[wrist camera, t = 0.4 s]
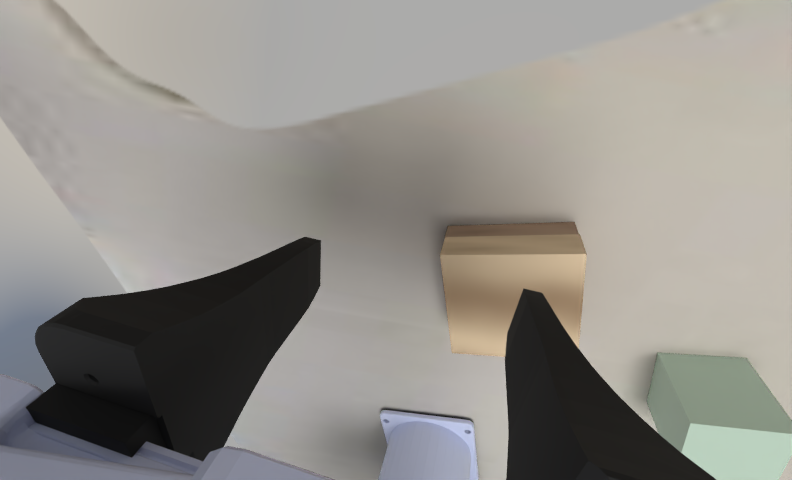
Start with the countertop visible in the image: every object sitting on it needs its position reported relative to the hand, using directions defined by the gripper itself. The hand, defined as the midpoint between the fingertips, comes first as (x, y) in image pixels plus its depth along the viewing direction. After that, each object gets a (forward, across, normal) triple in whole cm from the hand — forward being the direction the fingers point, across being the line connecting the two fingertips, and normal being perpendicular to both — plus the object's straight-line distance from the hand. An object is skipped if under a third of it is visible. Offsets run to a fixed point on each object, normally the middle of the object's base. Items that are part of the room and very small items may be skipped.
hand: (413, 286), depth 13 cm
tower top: (+8, -5, +5) cm, 11 cm away
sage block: (+10, -17, +10) cm, 22 cm away
